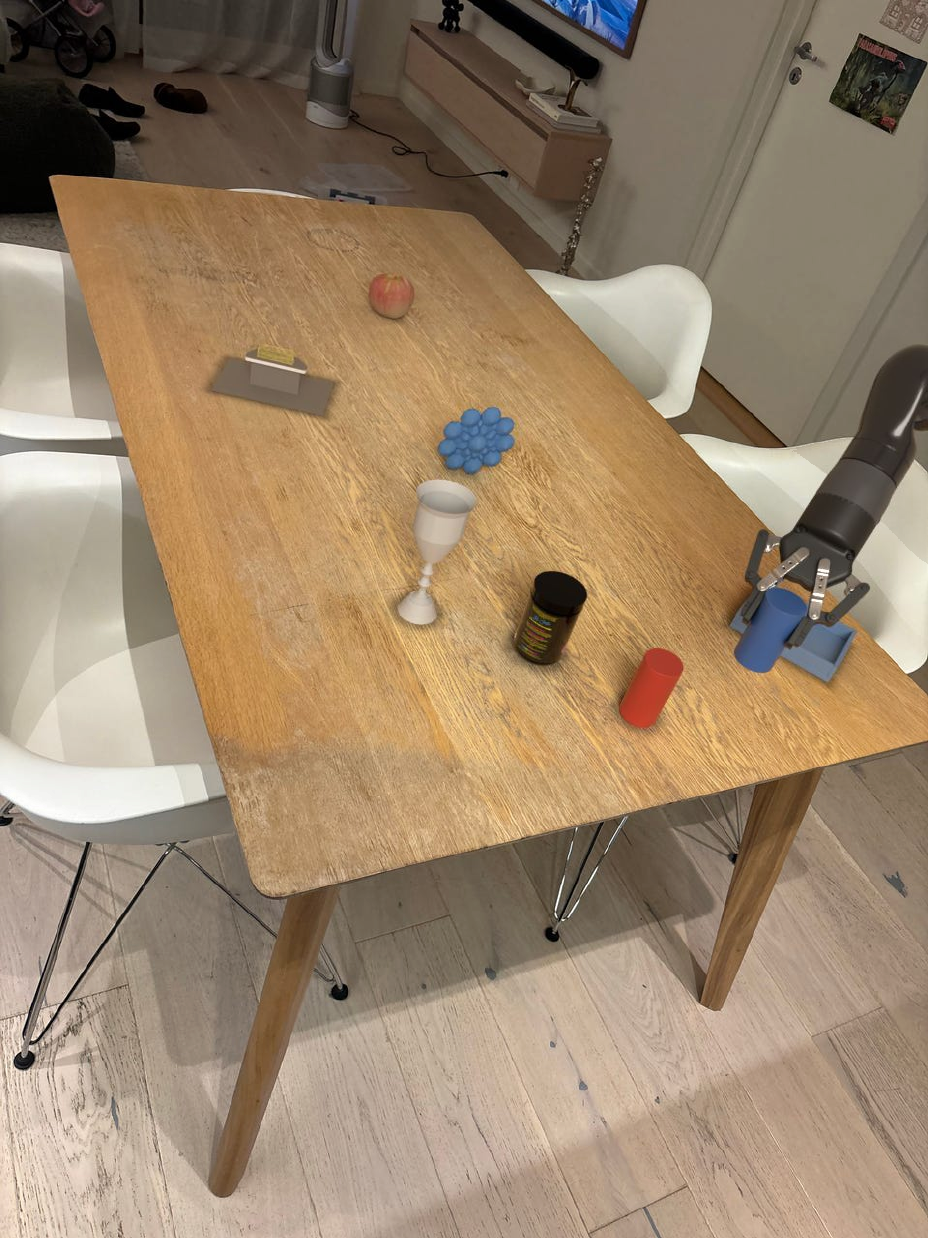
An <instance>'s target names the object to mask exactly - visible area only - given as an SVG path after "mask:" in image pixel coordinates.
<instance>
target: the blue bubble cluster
mask: <svg viewBox="0 0 928 1238" xmlns="http://www.w3.org/2000/svg"><path fill="white" fill-rule="evenodd" d="M514 429H515V421H514V420H513V418H511V417H509V416H504V417H502V412H501V410H500V409H499V408H498V407H497V406H490V407H487V408H486V409H484V410H483V412H482V413H481V412H480V410H479V409H477V408H468V409H466V410H464V411H463V412H462V414H461V415H460V421H458V420H453V421H450V422H448V423H447V424H446V425H445V426H444V427H443V429H442V430H443V431H442V433H443V436H444V437H445V438H444V439H443V440H441V441H440V442H439V443H438V444H437V453H438V454H439V456H441V457H445V462H444V464H445V467H446V468H447V469H448V470H450V471H456V470H459V469H460V468H462V470H463V471H464V473H465V474H468V475H474V474H476V473H478V472H479V471H481V469H482V468H483V466H485V467H486V468H494V467H496V466H497V465H499V464H500V463H501V461H502V459H503V454H502V453H506V452H509V451H510V450H511V449H512V448H513V447H514V446H515V438H514V436H513V434H511V433H512V432H513V430H514Z"/></svg>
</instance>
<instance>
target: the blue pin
mask: <svg viewBox="0 0 928 1238" xmlns="http://www.w3.org/2000/svg"><path fill="white" fill-rule="evenodd" d="M806 603H807V602H805V601H804V599H802V597H801V596H799V595H798V594H797V593H795V592H794V591H791V590H789V589H786V588H783V587H778V588H771V589H769V590H767V592H766V594H765V595H764V597H763V599H762V601H761V603H760V604H759V606H758V608H757V610H756V612H755V613H754V615H753V617H752V619H751V620H750V622H749V624H748V626H747V627H746V629H745V631H744V633H743V634H741V636H740V638H739V640H738V641H737V644H736V645H735V647H734V649H733V656H734V658H735V660H736V661H737V662H738V663H739V665H741V666H742V667H744V668H745V669H746V670H748V671H750V672H753V673H758V674H766V673H769V672H771V671H772V670H773V668H774V667H775V665H776V663H777V662H778V660H779V658H780V657H781V656H780V655H781V653H782V652H783V650H784V648H785V646H786V644H787V642H788V641H789V639H790V637H791V636H792V634H793V633H794V631H795V629H796V628H797V626H798V625H799V623H800V621H801V620H802V618H803V617H804V615H805V614H806V612H807V606H806Z"/></svg>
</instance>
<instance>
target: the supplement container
mask: <svg viewBox="0 0 928 1238" xmlns="http://www.w3.org/2000/svg"><path fill="white" fill-rule="evenodd" d="M587 598H588V591H587V589H586V587H585V585H583V583H582V582H581V581H580V580H578V579H577V578H576V577H574V576H572V575H570V574H568V573H565V572H563V571H558V570H546V571H542V572H540V573H538V574H537V575H536V576H535V577H534V579H533V583H532V585H531V587H530V591H529V594H528V597H527V600H526V602H525V604H524V608H523V611H522V614H521V616H520V619H519V622H518V625H517V628H516V631H515V632H514V635H513V640H512V641H513V647H514V650H515V652H516V653H517V654H518V656H519V657H520V658H521V659H523V660H524V661H525V662H527V663H529V664H532V665H534V666H539V667H549V666H552V665H555V664H557V663H558V662H559V661H560V660H562V658H563V656H564V653H565V651H566V649H567V647H568V644H569V642H570V639H571V637H572V634H573V633H574V630H575V627H576V625H577V622H578V620H579V618H580V615H581V613H582V611H583V609H584V607H585V603H586V601H587Z"/></svg>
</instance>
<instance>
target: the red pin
mask: <svg viewBox="0 0 928 1238" xmlns="http://www.w3.org/2000/svg"><path fill="white" fill-rule="evenodd" d="M637 667H638V668H637V669H636V671H635V673H634V675H633V677H632V679H631V682H630V683H629V685H628V687H627V689H626V691H625V694H624V695H623V697H622V699H621V702H620V704H619V707H618V708H619V713H620V715H621V717H622V718H623V719H624V720H625V721H626V722H627V723H629V724H630V725H632V726H634V727H637V728H642V729H647V728H650V727H653V726H654V725H655V724H656V723H657V721H658V719H659V717H660V715H661V713H662V711H663V710H664V707H665V706H666V704H667V702H668V700H669V699H670V696H671V695H672V693H673V691H674V689H675V688H676V685H677V684H678V682H679V680H680V678H681V676H682V674H683V672H684V670H685V669H684V663H683V661H682V659H681V658H680V657H679V656H677V655H676V654H675V653H674V652H672V651H670V650H668V649H666V648H661V647H652V648H649V649H647V650H646V651H645V652H644V655H643V656H642V659H641V661H640V663H639V665H638V666H637Z"/></svg>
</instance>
